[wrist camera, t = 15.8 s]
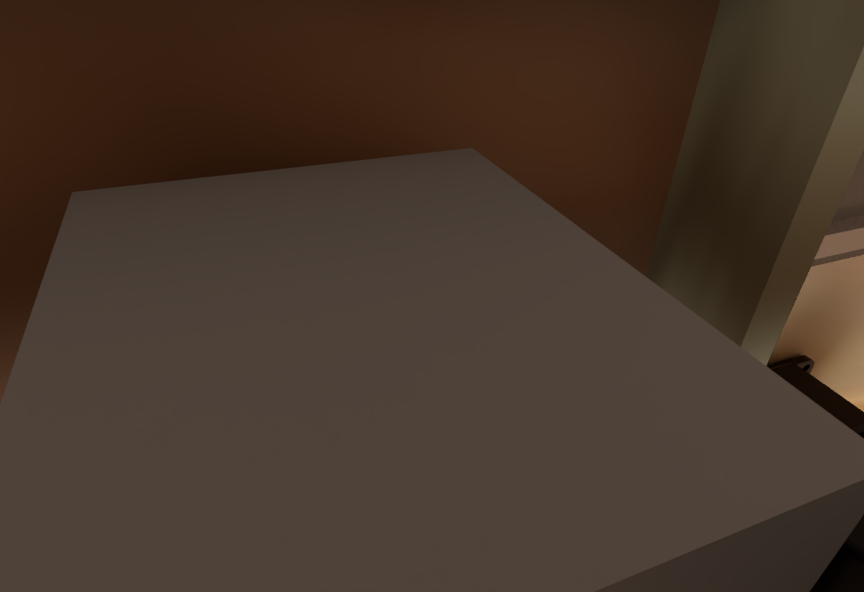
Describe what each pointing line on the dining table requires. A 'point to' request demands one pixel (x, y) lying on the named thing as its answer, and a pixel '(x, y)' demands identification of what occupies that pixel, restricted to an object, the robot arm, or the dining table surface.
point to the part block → (393, 402)
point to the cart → (458, 120)
